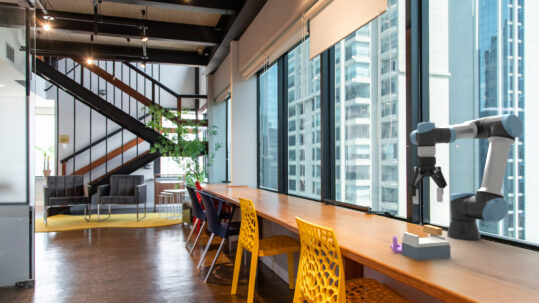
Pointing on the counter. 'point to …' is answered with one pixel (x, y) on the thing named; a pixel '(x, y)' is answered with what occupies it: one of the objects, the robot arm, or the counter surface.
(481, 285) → the counter surface
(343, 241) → the counter surface
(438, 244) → the cover
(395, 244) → the bracket
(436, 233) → the key
